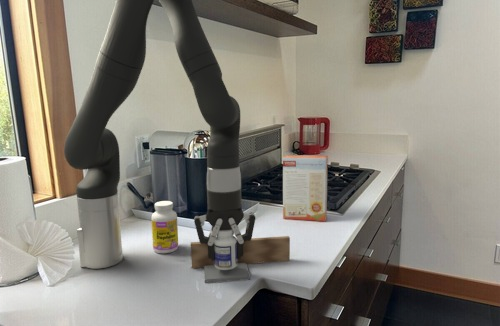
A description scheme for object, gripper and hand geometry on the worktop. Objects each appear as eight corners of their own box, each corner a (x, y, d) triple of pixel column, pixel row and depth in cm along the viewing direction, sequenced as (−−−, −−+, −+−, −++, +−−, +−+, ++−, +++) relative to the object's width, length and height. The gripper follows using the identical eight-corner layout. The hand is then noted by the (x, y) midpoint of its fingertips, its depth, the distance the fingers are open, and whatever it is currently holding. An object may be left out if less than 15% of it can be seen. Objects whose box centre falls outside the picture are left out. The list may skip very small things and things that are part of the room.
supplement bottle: (153, 255, 97) (150, 207, 95) (152, 246, 103) (149, 201, 101) (179, 252, 99) (177, 205, 97) (177, 243, 105) (175, 198, 103)
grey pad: (204, 283, 82) (204, 279, 82) (204, 268, 89) (204, 265, 89) (250, 279, 84) (250, 276, 84) (246, 265, 91) (246, 262, 91)
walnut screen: (191, 268, 90) (190, 244, 89) (191, 265, 91) (190, 242, 90) (289, 260, 93) (289, 237, 92) (288, 258, 94) (288, 236, 93)
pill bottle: (225, 258, 90) (224, 223, 88) (242, 264, 87) (241, 227, 85) (209, 266, 86) (208, 229, 84) (226, 272, 82) (225, 234, 81)
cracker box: (326, 216, 127) (328, 155, 123) (325, 222, 121) (326, 158, 117) (285, 213, 130) (286, 154, 127) (282, 219, 125) (282, 156, 121)
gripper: (190, 192, 78) (194, 268, 81) (258, 189, 80) (259, 263, 83) (191, 184, 86) (194, 254, 89) (253, 181, 88) (254, 250, 91)
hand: (225, 258), depth 86 cm, fingers closed on pill bottle, 5 cm apart
